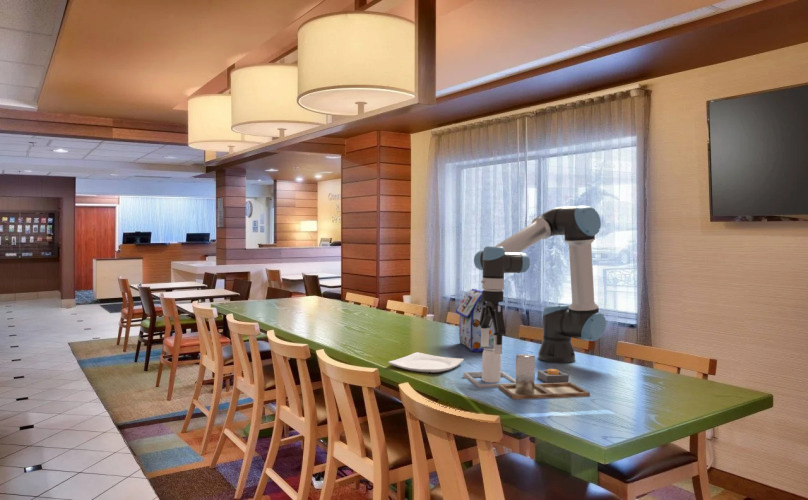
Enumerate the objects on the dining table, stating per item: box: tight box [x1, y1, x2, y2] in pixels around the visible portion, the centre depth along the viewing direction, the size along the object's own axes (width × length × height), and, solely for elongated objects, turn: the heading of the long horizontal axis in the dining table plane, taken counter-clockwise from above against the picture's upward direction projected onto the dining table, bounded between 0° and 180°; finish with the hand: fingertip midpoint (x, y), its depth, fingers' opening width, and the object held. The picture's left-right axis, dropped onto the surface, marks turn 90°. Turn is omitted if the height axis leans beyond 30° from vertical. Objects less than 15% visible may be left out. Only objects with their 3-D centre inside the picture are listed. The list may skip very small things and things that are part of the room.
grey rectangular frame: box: [462, 370, 516, 389], centre depth 200 cm, size 15×18×2 cm
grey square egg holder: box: [537, 369, 570, 383], centre depth 201 cm, size 8×8×4 cm
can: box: [481, 348, 502, 383], centre depth 200 cm, size 6×6×12 cm
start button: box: [546, 368, 560, 375], centre depth 201 cm, size 4×4×4 cm
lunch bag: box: [455, 288, 495, 353], centre depth 262 cm, size 23×17×27 cm
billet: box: [515, 353, 536, 395], centre depth 184 cm, size 6×6×12 cm
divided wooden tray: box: [498, 381, 591, 400], centre depth 185 cm, size 26×13×2 cm, turn 101°
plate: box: [388, 351, 465, 374], centre depth 224 cm, size 24×24×3 cm
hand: (491, 350), depth 199 cm, fingers open, 13 cm apart
